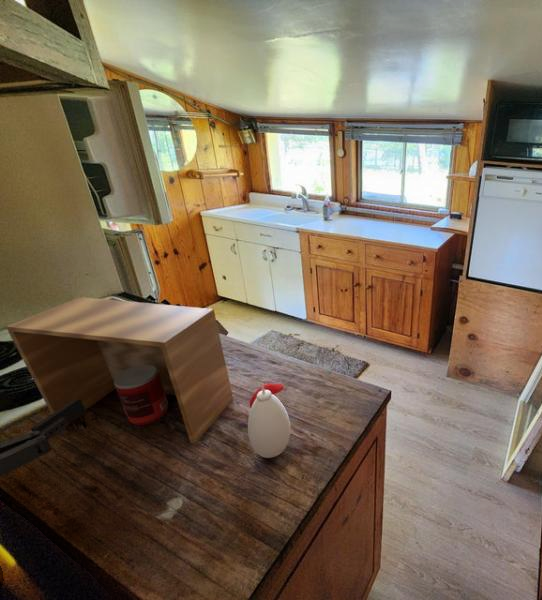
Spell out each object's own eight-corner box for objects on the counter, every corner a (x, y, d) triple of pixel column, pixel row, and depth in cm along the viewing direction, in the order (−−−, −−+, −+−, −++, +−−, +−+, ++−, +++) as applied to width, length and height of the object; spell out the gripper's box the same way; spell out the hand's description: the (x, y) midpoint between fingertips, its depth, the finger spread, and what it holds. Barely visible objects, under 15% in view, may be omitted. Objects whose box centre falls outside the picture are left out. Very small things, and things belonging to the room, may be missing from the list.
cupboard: (57, 426, 71) (5, 326, 61) (115, 385, 84) (80, 296, 73) (195, 444, 68) (164, 342, 58) (233, 398, 81) (213, 309, 71)
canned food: (162, 396, 80) (150, 360, 76) (174, 412, 76) (162, 374, 71) (124, 413, 75) (108, 375, 70) (134, 431, 70) (118, 391, 66)
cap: (260, 423, 74) (256, 402, 72) (246, 410, 77) (242, 390, 75) (290, 404, 80) (287, 384, 78) (276, 393, 83) (273, 374, 81)
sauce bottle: (253, 442, 69) (240, 373, 62) (291, 433, 72) (283, 366, 64) (252, 473, 63) (237, 400, 55) (294, 462, 65) (285, 391, 58)
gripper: (-245, 539, 37) (-11, 409, 57) (-57, 573, 35) (119, 425, 54) (-300, 496, 34) (-33, 374, 53) (-98, 530, 32) (105, 390, 51)
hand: (44, 400), depth 54 cm, fingers open, 13 cm apart
